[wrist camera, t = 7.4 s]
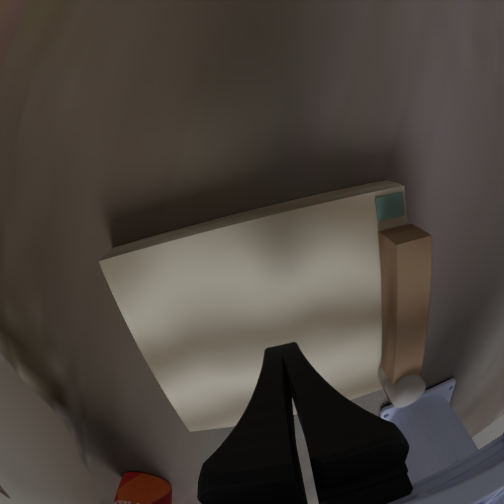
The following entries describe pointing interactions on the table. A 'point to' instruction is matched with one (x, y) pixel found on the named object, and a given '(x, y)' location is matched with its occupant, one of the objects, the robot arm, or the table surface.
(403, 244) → the folding leg
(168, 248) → the cream flat block
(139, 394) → the table surface
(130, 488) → the coffee cup
